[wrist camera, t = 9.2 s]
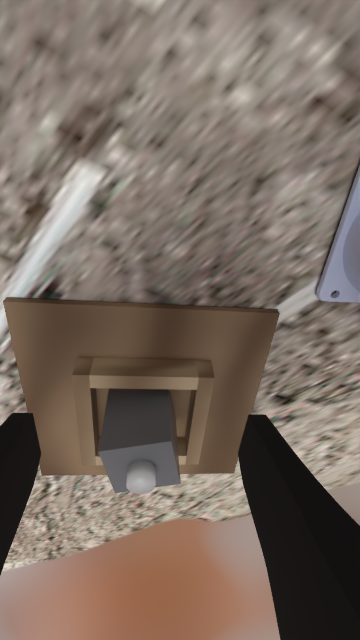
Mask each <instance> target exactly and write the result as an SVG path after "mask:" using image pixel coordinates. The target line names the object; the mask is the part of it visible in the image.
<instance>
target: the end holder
mask: <svg viewBox="0 0 360 640" xmlns="http://www.w3.org/2000/svg"><path fill="white" fill-rule="evenodd" d="M3 303H4V308H5V312H6V317H7V321H8V326H9V330H10V335H11V339H12V344H13V348H14V353H15V357H16V362H17V366H18V371H19V375H20V380H21V384H22V389H23V393H24V398H25V402H26V406H27V411H28V413H33V416H34V421H35V426H36V430H37V435H38V440H39V444H40V449H41V457H40V462H39V465H40V469H41V474H42V476H44V475H108V474H107V472H106V470H105V467H104V465H103V462H102V460H101V458H100V455H99V453H98V449H99V443H100V437H101V432H102V426H103V420H104V414H105V408H106V403H107V397H108V391H109V388H115V389H170V393H171V398H172V403H173V408H174V413H175V418H176V430H177V443H178V456H179V470H180V474H207V473H234V471H235V467H236V464H237V460H238V450H239V446H240V443H241V439H242V436H243V432H244V429H245V425H246V422H247V418H248V415H251V411H252V408H253V404H254V401H255V398H256V394H257V391H258V387H259V384H260V380H261V377H262V373H263V370H264V366H265V363H266V359H267V356H268V352H269V349H270V345H271V342H272V338H273V335H274V331H275V328H276V324H277V321H278V317H279V314H280V313H279V312H278V310H277V309H256V308H233V307H211V306H188V305H165V304H143V303H120V302H98V301H75V300H52V299H30V298H6V299H5V300H4V301H3Z"/></svg>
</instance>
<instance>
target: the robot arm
mask: <svg viewBox="0 0 360 640" xmlns="http://www.w3.org/2000/svg"><path fill="white" fill-rule="evenodd" d="M333 291H336V293H335V294H334V295H331V293H332V292H333ZM316 295H317V297H318V298H319V299H320V300H321V301H331V302H352V303H360V165H359V168H358V171H357V174H356V177H355V180H354V183H353V186H352V189H351V192H350V195H349V198H348V201H347V204H346V206H345V209H344V212H343V215H342V218H341V221H340V224H339V227H338V230H337V233H336V236H335V239H334V242H333V244H332V247H331V250H330V253H329V256H328V259H327V262H326V265H325V268H324V271H323V274H322V277H321V280H320V283H319V285H318V288H317V292H316ZM40 457H41V449H40V444H39V440H38V435H37V430H36V426H35V421H34V416H33V413H12V414H11V415H10V416H9V417H8V418H7V419H6V421H5V422H4V423H3V424H2V425H1V426H0V575H1V572H2V569H3V566H4V563H5V560H6V558H7V555H8V552H9V550H10V547H11V544H12V542H13V539H14V536H15V534H16V531H17V528H18V526H19V523H20V520H21V518H22V515H23V512H24V510H25V507H26V504H27V502H28V499H29V496H30V494H31V491H32V488H33V485H34V481H35V477H36V474H37V470H38V466H39V462H40ZM238 457H239V463H240V469H241V475H242V480H243V485H244V488H245V492H246V496H247V499H248V503H249V506H250V510H251V513H252V517H253V520H254V524H255V527H256V531H257V534H258V538H259V541H260V544H261V548H262V552H263V555H264V559H265V563H266V567H267V572H268V577H269V582H270V586H271V592H272V596H273V602H274V607H275V612H276V617H277V623H278V628H279V634H280V639H281V640H360V526H359V525H358V524H357V523H356V522H355V521H354V520H353V519H352V518H351V517H350V516H349V514H348V513H347V512H346V511H345V510H344V509H343V508H342V507H341V506H340V505H339V504H338V503H337V502H336V501H335V500H334V498H333V497H332V496H331V495H330V494H329V493H328V492H327V491H326V490H325V488H324V487H323V486H322V485H321V484H320V483H319V482H318V480H317V479H316V478H315V477H314V476H313V474H312V473H311V472H310V471H309V470H308V468H307V467H306V466H305V465H304V464H303V462H302V461H301V460H300V459H299V457H298V456H297V455H296V454H295V452H294V451H293V450H292V449H291V447H290V446H289V445H288V443H287V442H286V441H285V440H284V438H283V437H282V436H281V434H280V433H279V432H278V430H277V429H276V428H275V426H274V425H273V424H272V422H271V421H270V420H269V418H268V417H267V416H266V415H248V418H247V422H246V425H245V429H244V432H243V436H242V439H241V443H240V446H239V450H238Z"/></svg>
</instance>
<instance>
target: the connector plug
mask: <svg viewBox="0 0 360 640" xmlns="http://www.w3.org/2000/svg"><path fill="white" fill-rule="evenodd" d="M98 453H99V455H100V458H101V460H102V462H103V465H104V467H105V470H106V472H107V474H108V477H109V479H110V482H111V484H112V486H113V489H114V491H115V493H119V492H126V491H130V492H132V493H136V494H144V493H148V492H151V491H152V490H153V489H154V488H155V487H161V486H168V485H175V484H181V483H180V470H179V456H178V443H177V430H176V418H175V413H174V408H173V403H172V398H171V393H170V389H115V388H109V391H108V397H107V403H106V408H105V414H104V420H103V426H102V432H101V437H100V443H99V449H98Z"/></svg>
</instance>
